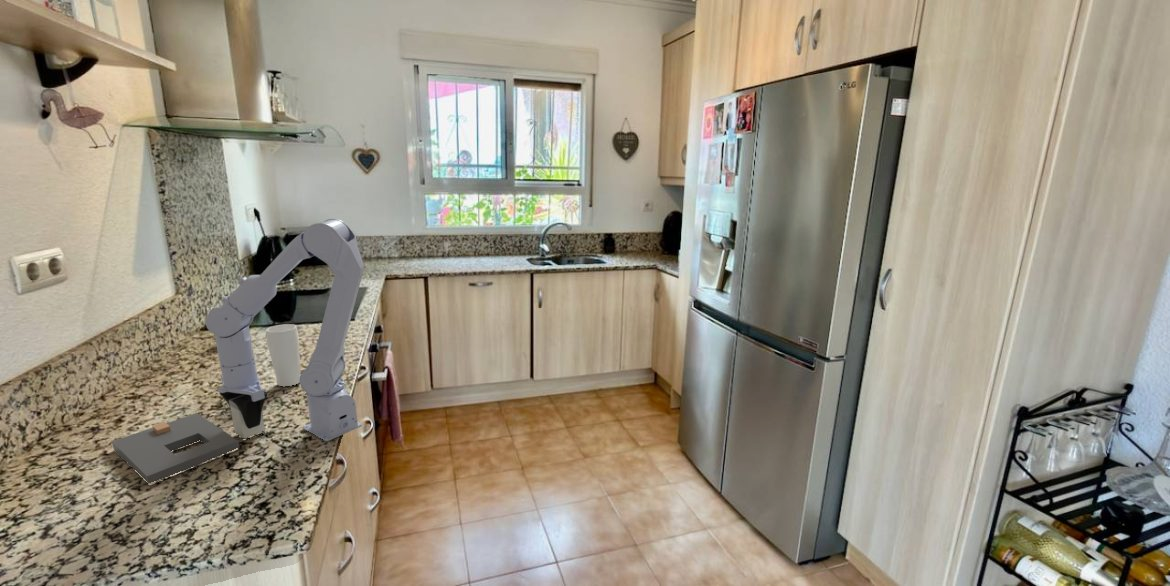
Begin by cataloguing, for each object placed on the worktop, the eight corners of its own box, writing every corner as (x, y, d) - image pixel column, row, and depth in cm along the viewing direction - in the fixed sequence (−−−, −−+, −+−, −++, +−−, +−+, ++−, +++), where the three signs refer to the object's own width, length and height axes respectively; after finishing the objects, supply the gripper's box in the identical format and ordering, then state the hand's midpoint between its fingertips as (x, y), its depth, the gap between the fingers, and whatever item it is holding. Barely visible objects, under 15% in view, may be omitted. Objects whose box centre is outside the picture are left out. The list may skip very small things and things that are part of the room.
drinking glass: (270, 390, 123) (261, 333, 120) (279, 379, 130) (270, 324, 126) (300, 387, 125) (292, 331, 121) (307, 376, 131) (299, 322, 128)
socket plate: (239, 449, 97) (237, 436, 97) (149, 486, 86) (145, 471, 85) (198, 421, 108) (196, 408, 108) (114, 450, 97) (110, 436, 96)
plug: (265, 432, 104) (259, 397, 102) (244, 441, 101) (237, 405, 99) (256, 426, 106) (250, 392, 104) (235, 435, 103) (228, 399, 101)
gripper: (199, 360, 100) (211, 421, 103) (230, 376, 92) (242, 442, 96) (238, 350, 106) (248, 408, 109) (271, 364, 98) (281, 427, 101)
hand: (248, 423), depth 103 cm, fingers closed on plug, 4 cm apart
